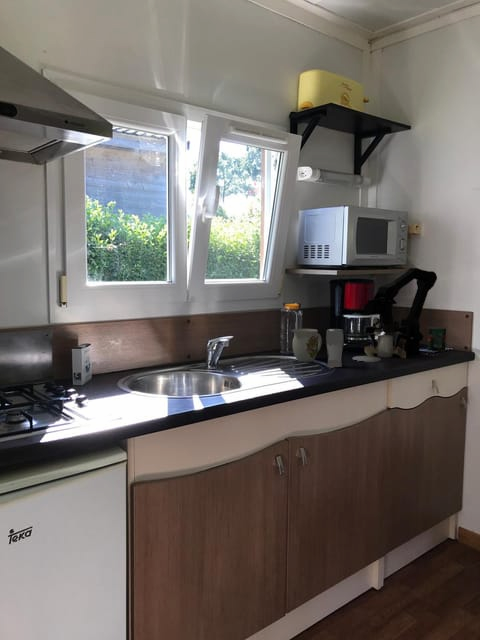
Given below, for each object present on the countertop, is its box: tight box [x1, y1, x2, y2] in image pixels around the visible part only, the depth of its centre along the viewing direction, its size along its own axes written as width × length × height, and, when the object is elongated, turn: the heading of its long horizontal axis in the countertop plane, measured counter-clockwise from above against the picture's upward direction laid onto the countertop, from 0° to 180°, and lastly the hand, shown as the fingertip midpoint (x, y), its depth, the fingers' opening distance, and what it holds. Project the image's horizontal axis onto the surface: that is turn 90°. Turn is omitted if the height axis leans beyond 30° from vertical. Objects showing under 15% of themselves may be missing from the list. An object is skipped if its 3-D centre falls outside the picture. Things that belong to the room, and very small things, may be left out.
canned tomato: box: [427, 326, 447, 353], centre depth 262 cm, size 8×8×11 cm
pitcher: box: [291, 328, 323, 363], centre depth 236 cm, size 11×18×14 cm, turn 130°
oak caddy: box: [364, 346, 407, 359], centre depth 248 cm, size 15×14×3 cm
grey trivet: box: [352, 355, 382, 363], centre depth 238 cm, size 12×12×1 cm
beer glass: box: [325, 328, 345, 369], centre depth 222 cm, size 7×7×15 cm
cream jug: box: [376, 334, 394, 358], centre depth 246 cm, size 9×7×9 cm
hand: (385, 348), depth 247 cm, fingers open, 9 cm apart
